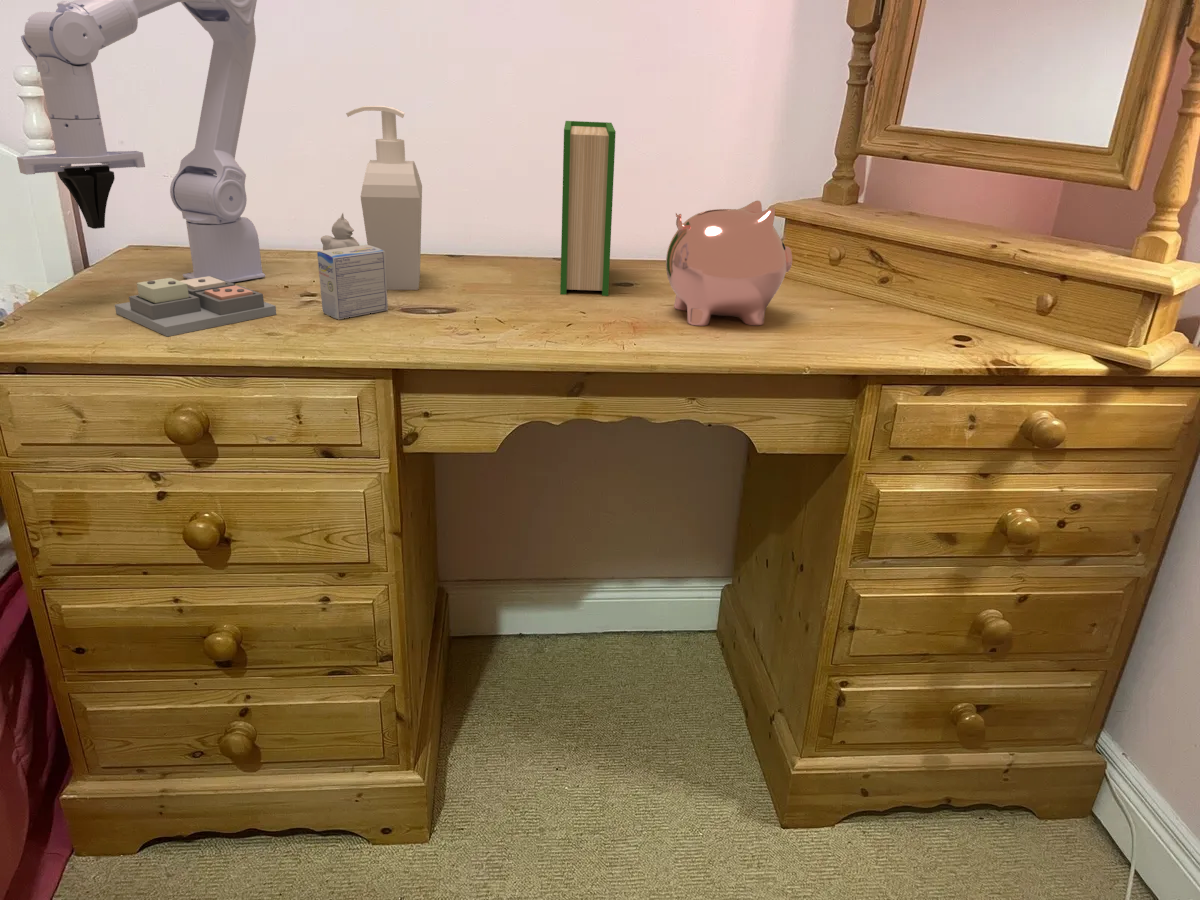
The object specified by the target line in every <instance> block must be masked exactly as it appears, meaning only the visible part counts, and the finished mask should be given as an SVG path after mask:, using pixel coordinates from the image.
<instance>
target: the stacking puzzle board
mask: <svg viewBox="0 0 1200 900" xmlns="http://www.w3.org/2000/svg"><path fill="white" fill-rule="evenodd" d="M210 277H213V276H210ZM213 278H216V277H213ZM216 279H219V278H216ZM219 280H221V281H224V282H225V283H226V285H221V286H215V287H209V288H203V289H197V290H193V289H190V288H188V294H189V298H183V299H177V300H172V301H166V302H160V303H153V302H151V301H148V300H146V299H143V298H141V297H139V294H136V295H135V294H134V295H130V296H128V300H129V301H128V302H122V303H121V302H120V303H116V304H114V309H115V314H116V315H118V316H121V317H123V318H126V319H127V320H129V321H131V322H134V323H136V324H138V325H140V326H143V327H145V328H146V329H147V328H148V329H150V330H152V331H154V332H156V333H158V334H159V335H160V334H161V335H163V336H165V337H172V336H177V335H181V334H187V333H191V332H195V331H201V330H206V329H207V330H208V329H211V328H216V327H222V326H225V325H230V324H231V325H232V324H236V323H240V322H241V323H242V322H245V321H251V320H255V319H260V318H265V317H271V316H276V315H277V306H276V305H274V304H272V303H269V302H265V301H264V300H265V298H264V293H261V292H259V291H256V290H252V289H250V288H247V287H244V286H242V285H238V284H237V285H236V283H234V282H231V283H230V282H228V281H225V280H222V279H219ZM235 285H236V286H239V287H241V288H244V289H247V290H250V291H253V294H252V295H247V296H241V297H236V298H230V299H225V300H219V299H216V298H214V297H211V296H208V295H206V294H205V292H204V291H205V290H211V289H217V288H223V287H229V286H235Z"/></svg>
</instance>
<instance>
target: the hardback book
mask: <svg viewBox="0 0 1200 900" xmlns="http://www.w3.org/2000/svg"><path fill="white" fill-rule="evenodd" d="M616 132H617V131H616V129H615V126H614V125H613V124H612V122H603V121H601V122H599V121H583V120H582V121H581V120H579V121H578V120H565V122H564V127H563V151H562V152H563V159H562V201H561V202H562V203H561V240H560V241H561V243H560V244H561V245H560V246H561V247H560V248H561V249H560V253H561V255H560V286H559V287H560V290H559V291H560V292H559V294H560V295H561V296H562V295H564V296H566V295H567V292H568V291H567V290H571V291H573V290H575V291H576V290H577V291H601V296H602V297H609V291H610V290H609V288H610V287H609V285H610V263H611V242H612V241H611V240H612V220H613V219H612V218H613V197H614V180H615V179H614V176H615V174H614V171H615V156H616V154H615V153H616V152H615V151H616V134H617V133H616Z"/></svg>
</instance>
